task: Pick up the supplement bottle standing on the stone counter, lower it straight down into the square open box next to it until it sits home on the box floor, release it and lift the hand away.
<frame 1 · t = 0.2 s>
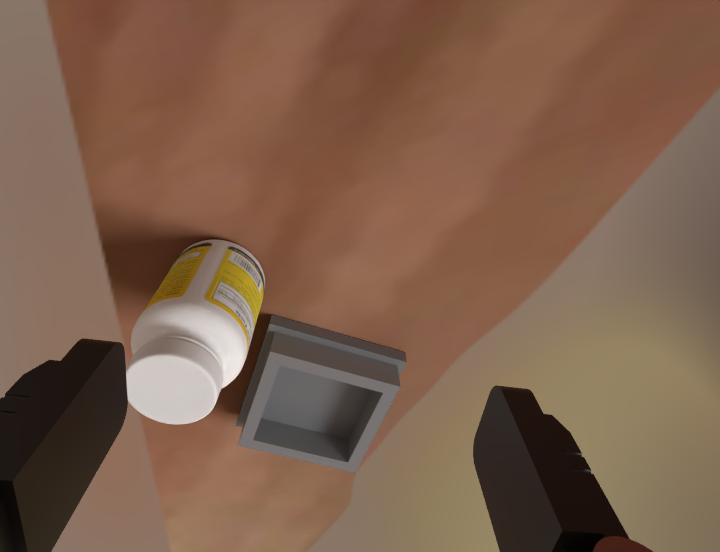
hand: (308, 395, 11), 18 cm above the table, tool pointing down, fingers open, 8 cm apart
supplement bottle: (222, 276, 30), on the table
square open box: (318, 384, 34), on the table
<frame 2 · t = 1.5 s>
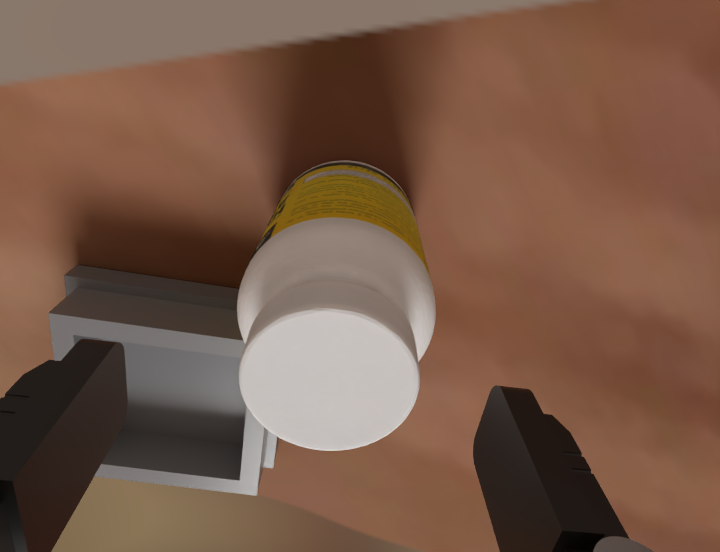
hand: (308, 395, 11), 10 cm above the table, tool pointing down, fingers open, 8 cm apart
supplement bottle: (344, 224, 20), on the table
square open box: (187, 368, 22), on the table
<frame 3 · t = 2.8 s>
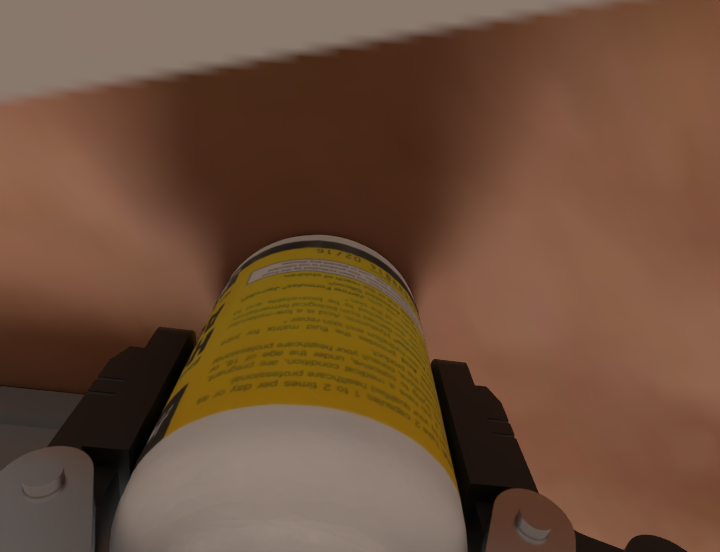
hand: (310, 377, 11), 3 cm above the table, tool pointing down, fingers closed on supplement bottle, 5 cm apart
supplement bottle: (318, 316, 14), on the table, touching gripper
square open box: (113, 501, 17), on the table
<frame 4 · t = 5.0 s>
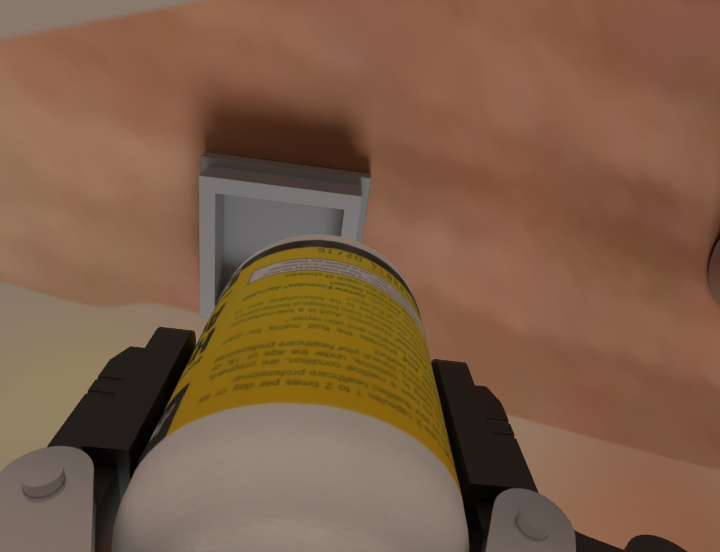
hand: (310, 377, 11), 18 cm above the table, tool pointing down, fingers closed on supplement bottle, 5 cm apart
supplement bottle: (319, 315, 14), point 15 cm above the table, touching gripper
square open box: (283, 238, 29), on the table
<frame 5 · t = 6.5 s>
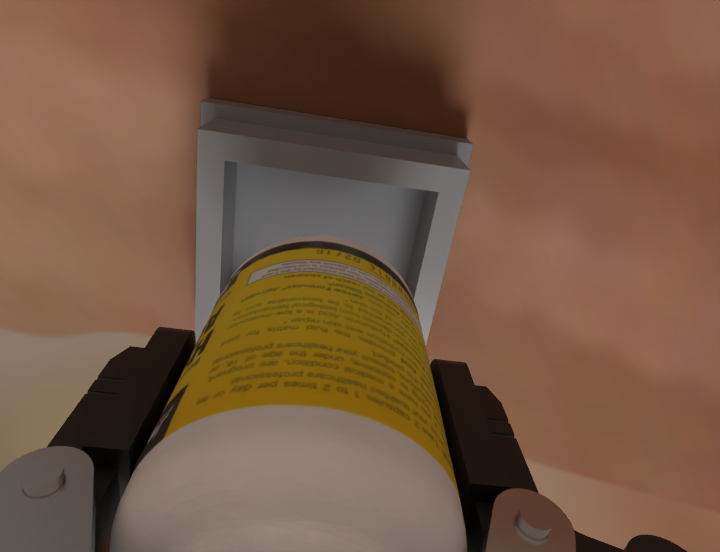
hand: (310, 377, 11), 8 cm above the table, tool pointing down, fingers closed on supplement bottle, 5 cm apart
supplement bottle: (318, 316, 14), point 6 cm above the table, touching gripper
square open box: (324, 238, 19), on the table
when the fingers open (5 cm above the table, at t = 7.7 s): supplement bottle drops 1 cm, resting on square open box.
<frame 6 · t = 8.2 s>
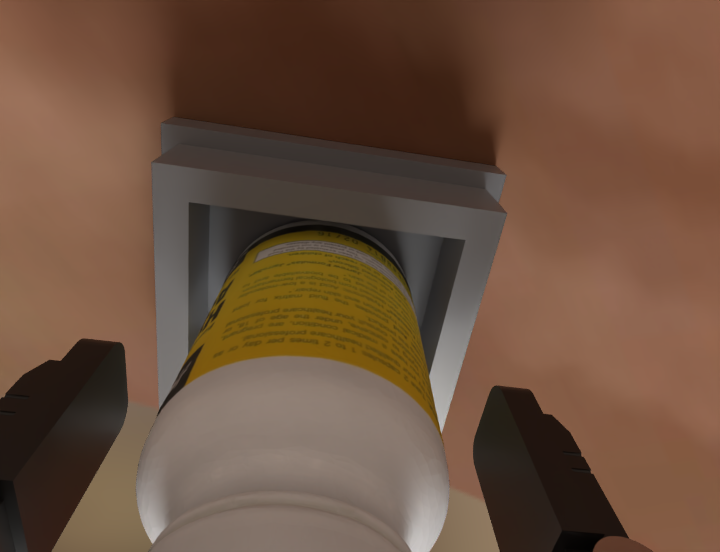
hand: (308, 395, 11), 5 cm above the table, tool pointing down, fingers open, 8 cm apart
supplement bottle: (318, 297, 15), point 1 cm above the table, touching square open box
square open box: (320, 285, 16), on the table
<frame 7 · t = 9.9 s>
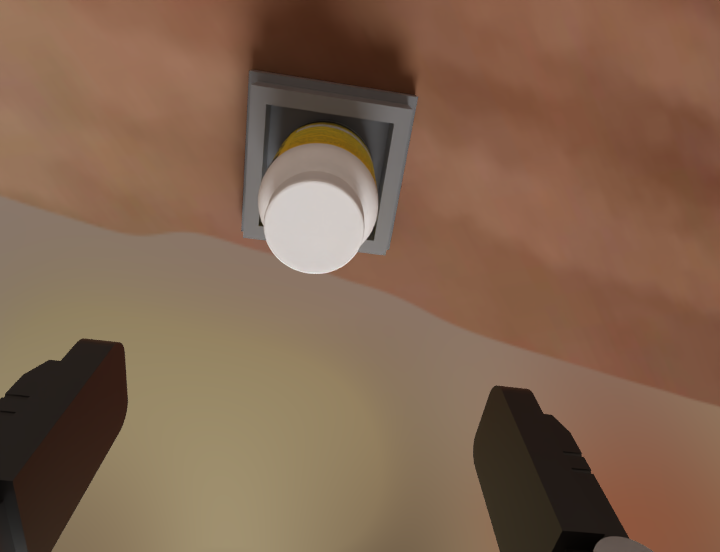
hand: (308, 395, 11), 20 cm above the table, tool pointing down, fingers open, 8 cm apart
supplement bottle: (324, 167, 28), point 1 cm above the table, touching square open box
square open box: (325, 163, 29), on the table
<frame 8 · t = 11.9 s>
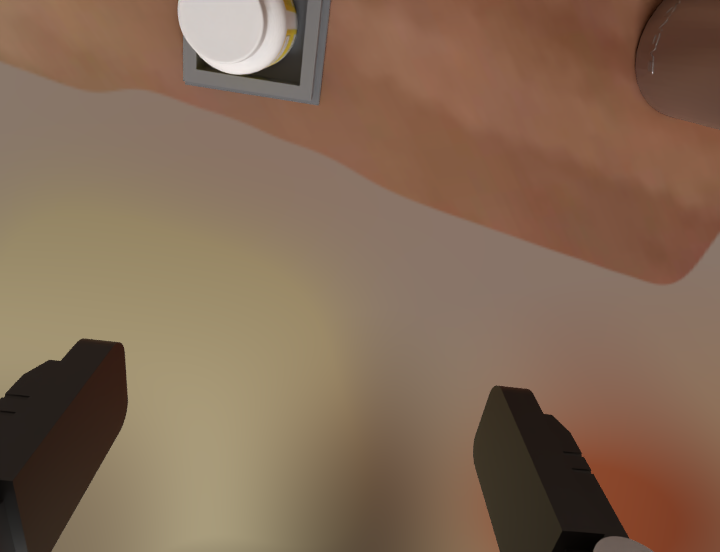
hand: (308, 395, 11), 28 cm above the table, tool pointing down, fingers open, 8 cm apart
supplement bottle: (257, 21, 32), point 1 cm above the table, touching square open box
square open box: (259, 21, 32), on the table
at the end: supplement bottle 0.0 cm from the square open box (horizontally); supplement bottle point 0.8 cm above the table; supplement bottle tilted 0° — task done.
